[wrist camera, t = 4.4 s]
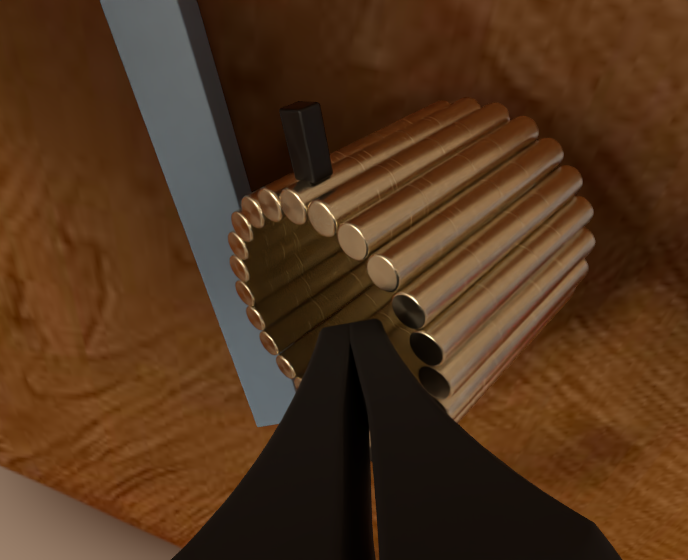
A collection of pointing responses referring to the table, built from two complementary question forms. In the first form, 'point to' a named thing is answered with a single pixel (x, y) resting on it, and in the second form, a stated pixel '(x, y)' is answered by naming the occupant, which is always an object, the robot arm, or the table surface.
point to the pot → (415, 242)
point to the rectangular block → (198, 168)
